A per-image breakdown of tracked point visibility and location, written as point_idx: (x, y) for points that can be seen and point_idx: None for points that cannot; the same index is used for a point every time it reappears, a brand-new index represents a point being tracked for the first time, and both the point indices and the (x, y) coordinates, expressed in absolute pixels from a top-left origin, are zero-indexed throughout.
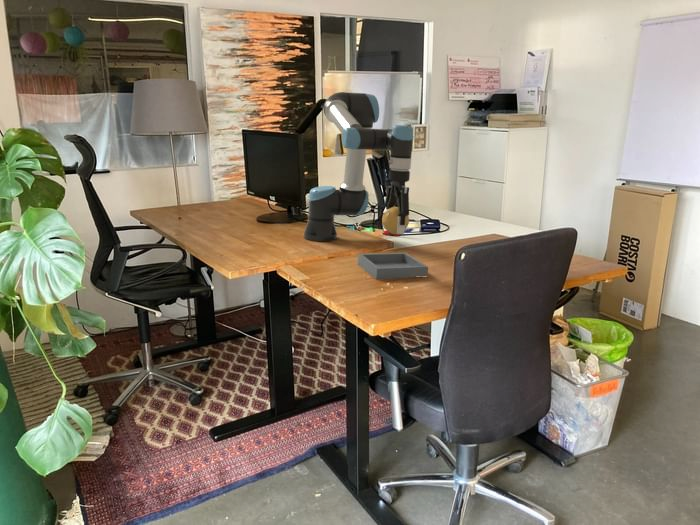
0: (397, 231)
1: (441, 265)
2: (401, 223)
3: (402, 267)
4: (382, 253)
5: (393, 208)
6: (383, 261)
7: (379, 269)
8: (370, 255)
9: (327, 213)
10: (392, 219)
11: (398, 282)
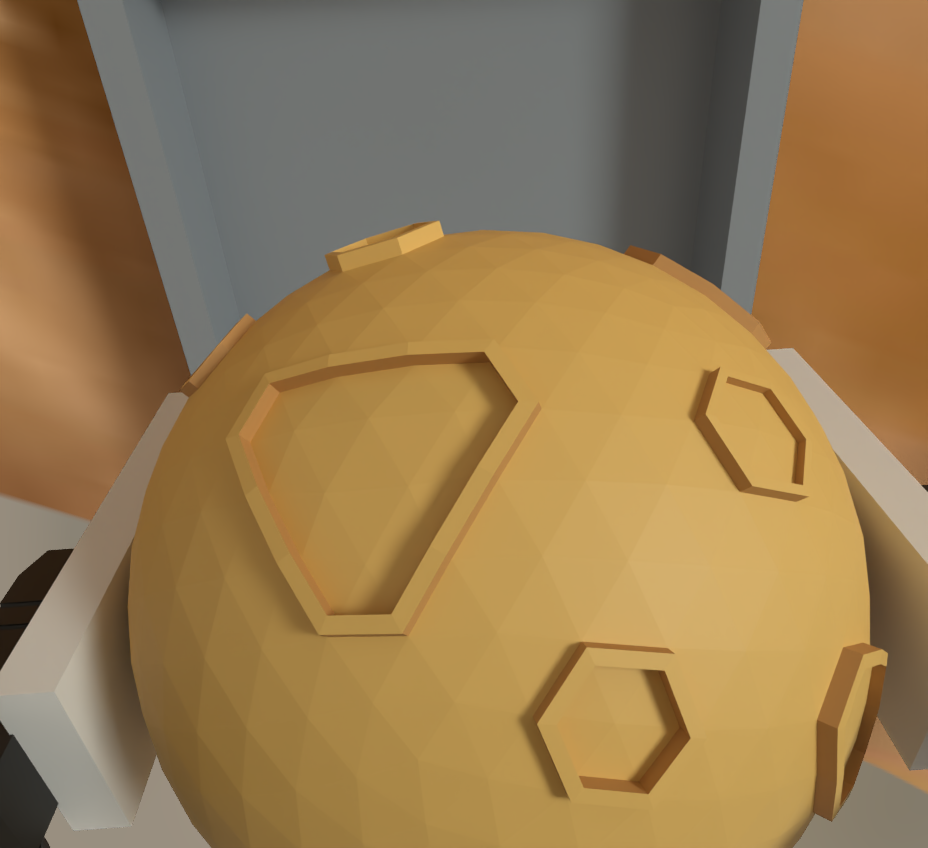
0: (158, 419)
1: None
2: (10, 588)
3: (164, 260)
4: (762, 217)
5: (413, 827)
6: (700, 201)
7: None
8: (752, 32)
9: None
10: (157, 480)
11: (45, 143)
